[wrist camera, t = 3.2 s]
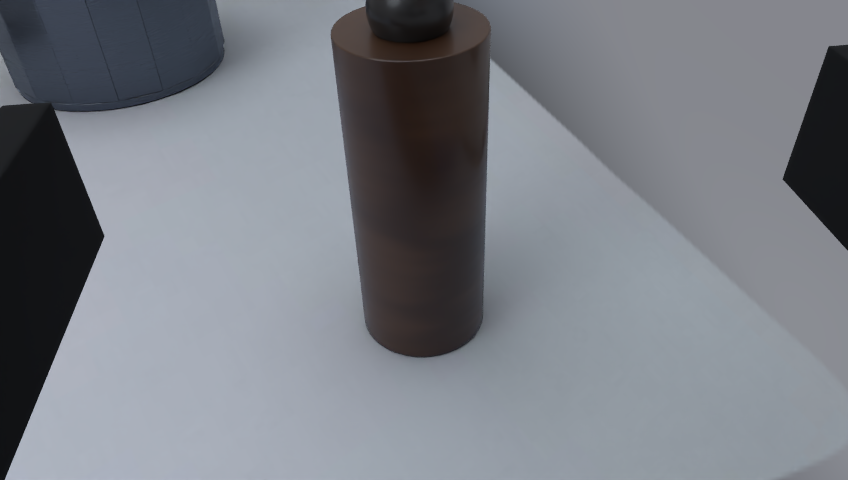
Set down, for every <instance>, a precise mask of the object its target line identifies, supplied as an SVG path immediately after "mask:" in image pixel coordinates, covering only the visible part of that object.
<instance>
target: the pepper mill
mask: <svg viewBox="0 0 848 480" xmlns="http://www.w3.org/2000/svg"><path fill="white" fill-rule="evenodd" d="M490 36H491V26H490V23H489V21H488V19H487V18H486V17H485V16H484V15H483V14H482V13H480V12H478V11H477V10H475V9H473V8H471V7H468V6H465V5H462V4H458V3H454V2H453V0H366V6H365V7H362V8H359V9H357V10H354V11H352V12H350V13H348V14H346V15H344V16H343V17H341V18H340V19H339V20H338V21H337V22H336V23H335V24H334V25H333V27H332V30H331V42H332V50H333V58H334V67H335V75H336V83H337V92H338V100H339V108H340V116H341V125H342V133H343V141H344V150H345V158H346V166H347V174H348V183H349V191H350V199H351V208H352V216H353V224H354V232H355V241H356V249H357V257H358V266H359V274H360V282H361V290H362V299H363V307H364V315H365V322H366V326H367V329H368V330H369V332H370V334H371V335H372V336H373V338H374V339H375V340H376V341H377V342H378V343H380V344H381V345H382V346H384V347H385V348H387V349H389V350H391V351H394V352H396V353H399V354H403V355H408V356H415V357H428V356H436V355H441V354H445V353H448V352H451V351H453V350H455V349H457V348H459V347H461V346H462V345H464V344H465V343H467V342H468V341H469V340H470V339H471V338H472V337H473V336H474V335H475V334H476V332H477V331H478V329H479V327H480V325H481V322H482V318H483V291H484V255H485V218H486V182H487V146H488V110H489V74H490Z"/></svg>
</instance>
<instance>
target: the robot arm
mask: <svg viewBox="0 0 848 480" xmlns="http://www.w3.org/2000/svg"><path fill="white" fill-rule="evenodd" d="M783 180H784V181H785V182H786V183H787V184H788V185H789V187H790V188H791V189H792V190H793V191H794V192H795V193H796V194H797V195H798V196H799V198H800V199H801V200H802V201H803V202H804V203H805V204H806V205H807V206H808V207H809V209H810V210H811V211H812V212H813V213H814V214H815V215H816V216H817V217H818V218H819V220H820V221H821V222H822V223H823V224H824V225H825V226H826V227H827V228H828V229H829V230H830V232H831V233H832V234H833V235H834V236H835V237H836V238H837V239H838V240H839V241H840V243H841V244H842V245H843V246H844V247H845V248H846V249H847V250H848V45H840V46H829V47H828V50H827V53H826V56H825V59H824V62H823V65H822V67H821V70H820V73H819V76H818V79H817V82H816V85H815V88H814V90H813V93H812V96H811V99H810V102H809V105H808V108H807V111H806V114H805V116H804V120H803V122H802V125H801V128H800V131H799V134H798V136H797V140H796V142H795V145H794V148H793V151H792V154H791V157H790V160H789V162H788V165H787V168H786V171H785V174H784V177H783ZM103 238H104V234H103V231H102V229H101V226H100V224H99V221H98V219H97V216H96V214H95V211H94V209H93V206H92V204H91V201H90V199H89V196H88V194H87V191H86V189H85V186H84V184H83V181H82V179H81V176H80V174H79V171H78V169H77V166H76V164H75V161H74V159H73V156H72V154H71V151H70V148H69V146H68V143H67V141H66V138H65V136H64V133H63V131H62V128H61V126H60V123H59V121H58V118H57V116H56V113H55V111H54V108H53V106H52V103H51V102H49V103H35V104H21V105H7V106H2V107H1V108H0V480H5V477H6V475H7V472H8V470H9V468H10V465H11V463H12V460H13V458H14V455H15V453H16V450H17V448H18V446H19V443H20V441H21V438H22V436H23V433H24V431H25V429H26V426H27V424H28V421H29V419H30V416H31V414H32V411H33V409H34V407H35V404H36V402H37V399H38V397H39V394H40V392H41V390H42V387H43V385H44V382H45V380H46V377H47V375H48V372H49V370H50V368H51V365H52V363H53V360H54V358H55V355H56V353H57V351H58V348H59V346H60V343H61V341H62V338H63V336H64V333H65V331H66V329H67V326H68V324H69V321H70V319H71V316H72V314H73V312H74V309H75V307H76V304H77V302H78V299H79V297H80V294H81V292H82V290H83V287H84V285H85V282H86V280H87V277H88V275H89V273H90V270H91V268H92V265H93V263H94V260H95V258H96V255H97V253H98V251H99V248H100V246H101V243H102V241H103Z"/></svg>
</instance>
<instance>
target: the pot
mask: <svg viewBox="0 0 848 480" xmlns="http://www.w3.org/2000/svg"><path fill="white" fill-rule="evenodd" d="M223 45H224V37H223V32H222V28H221V23H220V19H219V14H218V10H217V5H216V1H215V0H0V52H1V55H2V57H3V59H4V62H5V64H6V66H7V68H8V71H9V73H10V75H11V78H12V80H13V82H14V85H15V87H16V88H17V89H18V90H19V92H20V93H21V95H22V96H23V97H24V98H26V99H27V100H28V101H30V102H32V103H34V104H35V103H49V102H51V103H52V106H53V108H54V109H57V110H66V111H99V110H108V109H117V108H123V107H129V106H133V105H138V104H143V103H147V102H150V101H154V100H157V99H160V98H163V97H166V96H169V95H172V94H175V93H177V92H179V91H182V90H184V89H186V88H188V87H190V86H192V85H194V84H196V83H198V82H199V81H201V80H203V79H204V78H205V77H207V76H208V75H209V74H211V73H212V72H213V71H214V70H215V69H216V68H217V67H218V66H219V64H220V63H221V61H222V59H223V57H224V46H223Z"/></svg>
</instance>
